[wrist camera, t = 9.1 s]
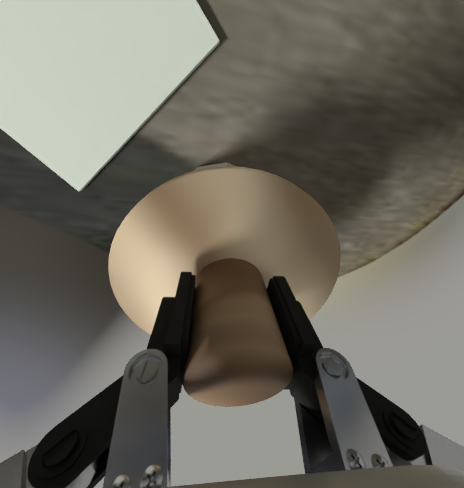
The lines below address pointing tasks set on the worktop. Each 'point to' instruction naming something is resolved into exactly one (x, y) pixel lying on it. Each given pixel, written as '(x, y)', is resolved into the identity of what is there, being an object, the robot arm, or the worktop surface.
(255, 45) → the worktop surface
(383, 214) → the worktop surface
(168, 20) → the mat
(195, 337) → the lid
